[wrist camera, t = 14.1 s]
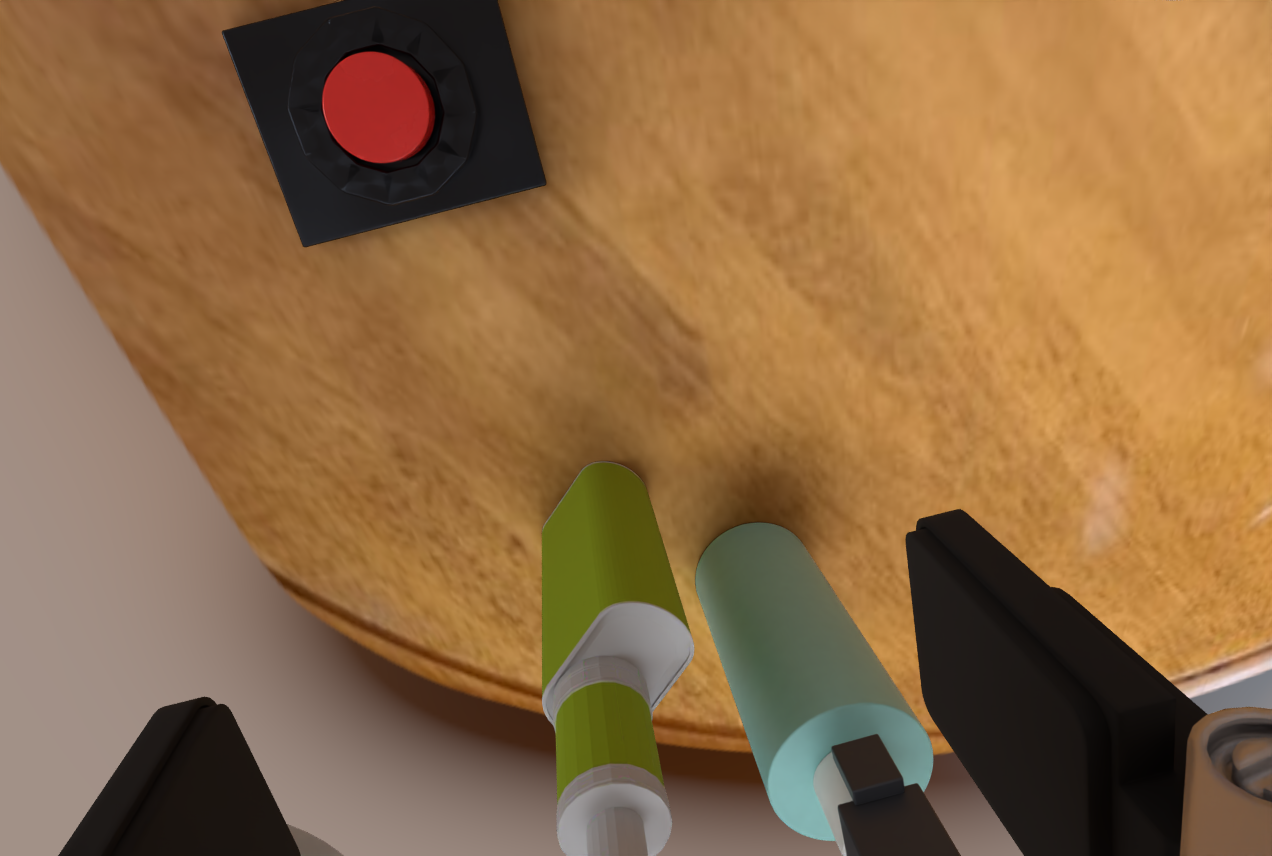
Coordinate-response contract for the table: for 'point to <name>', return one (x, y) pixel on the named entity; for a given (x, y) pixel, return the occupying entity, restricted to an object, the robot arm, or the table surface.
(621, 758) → the vape
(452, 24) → the button box
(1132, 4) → the table surface
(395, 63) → the button
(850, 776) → the spray bottle
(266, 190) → the table surface
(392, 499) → the table surface
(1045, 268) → the table surface
